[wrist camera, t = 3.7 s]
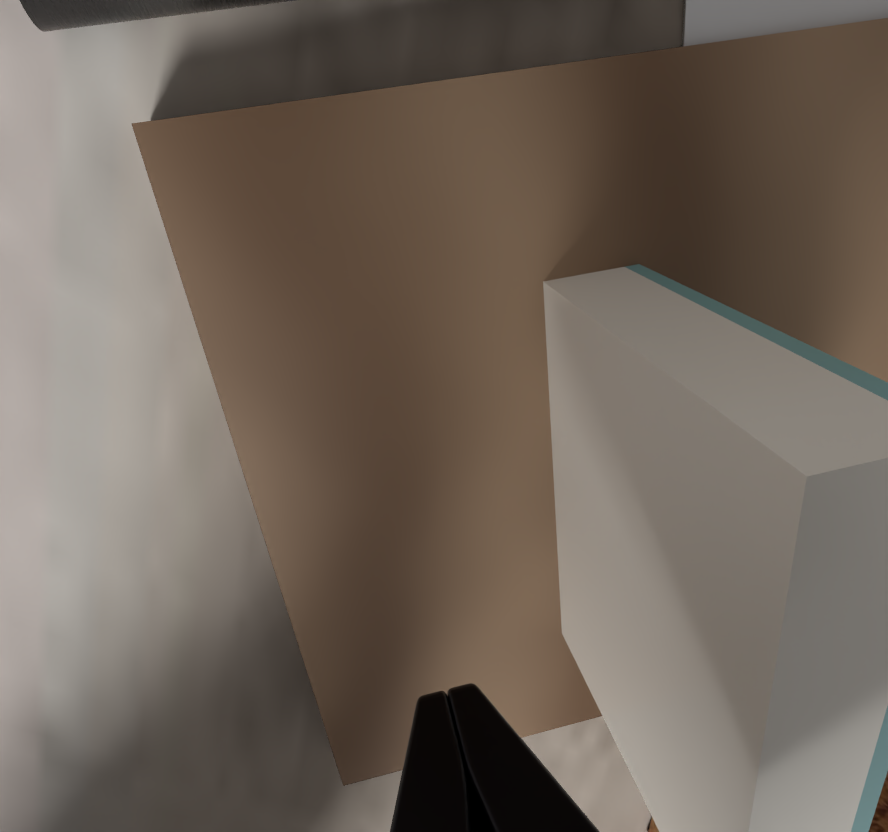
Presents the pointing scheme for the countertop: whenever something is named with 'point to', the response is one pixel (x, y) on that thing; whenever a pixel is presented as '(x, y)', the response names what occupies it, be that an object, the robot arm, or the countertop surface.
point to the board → (492, 323)
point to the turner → (704, 16)
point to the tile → (721, 554)
